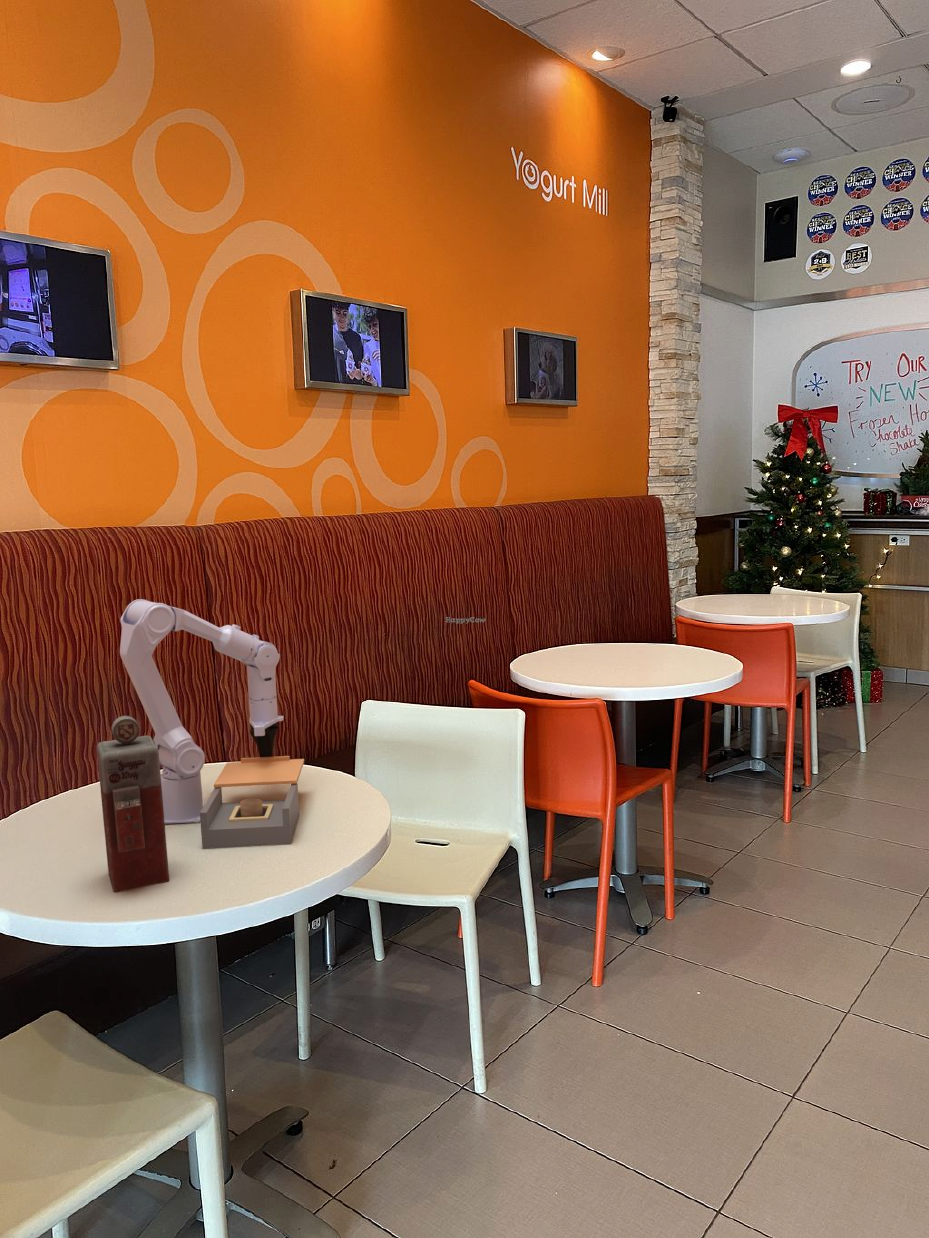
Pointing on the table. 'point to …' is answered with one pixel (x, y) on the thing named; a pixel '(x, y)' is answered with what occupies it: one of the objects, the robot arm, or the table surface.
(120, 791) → the vintage gas pump
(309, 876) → the table surface
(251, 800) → the brown cylinder
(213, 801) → the housing
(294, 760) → the lid
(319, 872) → the table surface
